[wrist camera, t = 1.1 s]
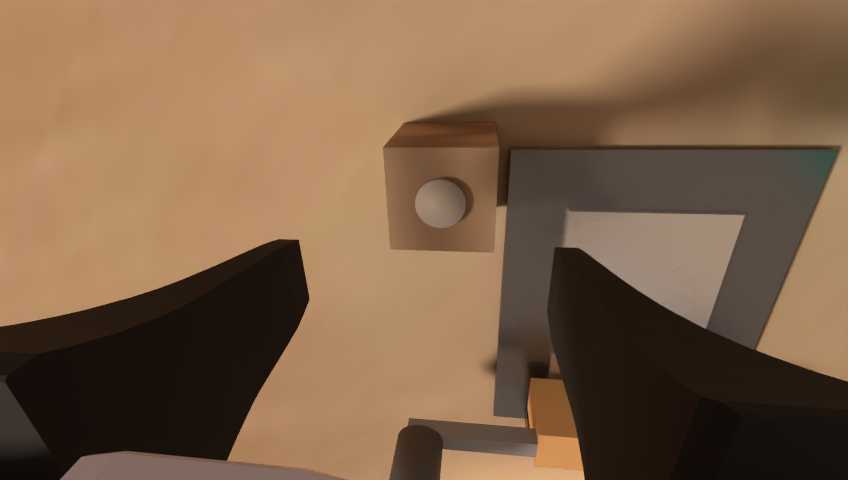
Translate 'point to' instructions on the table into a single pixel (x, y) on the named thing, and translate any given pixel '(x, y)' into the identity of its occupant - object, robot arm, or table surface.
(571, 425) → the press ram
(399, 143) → the block
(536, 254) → the frame
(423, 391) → the table surface
